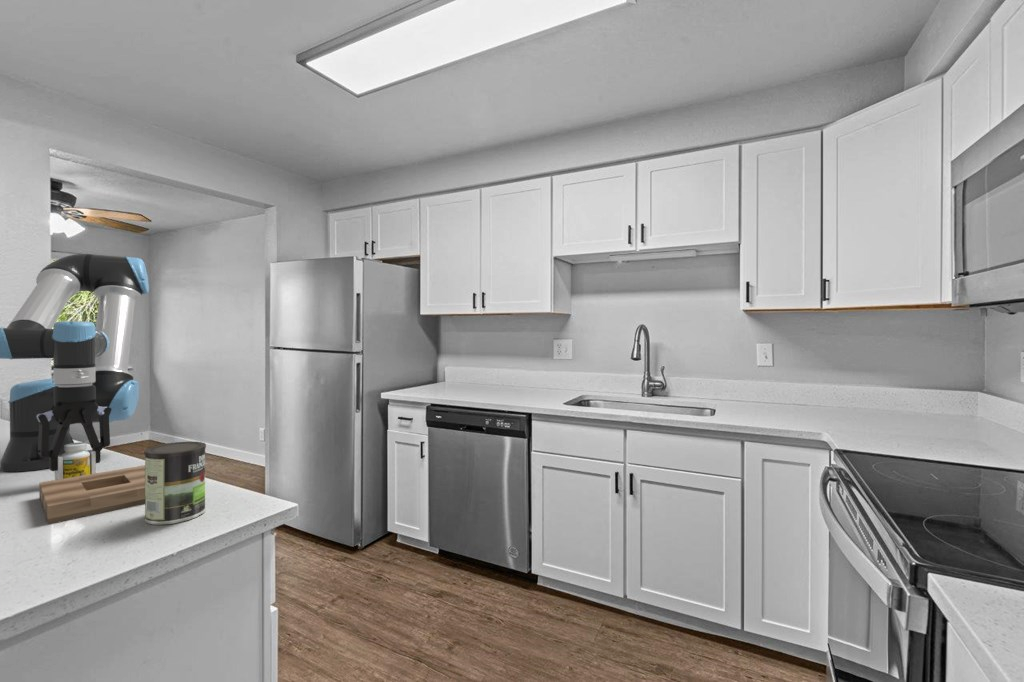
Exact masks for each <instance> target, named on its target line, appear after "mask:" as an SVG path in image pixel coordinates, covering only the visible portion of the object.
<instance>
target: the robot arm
mask: <svg viewBox="0 0 1024 682" xmlns="http://www.w3.org/2000/svg"><path fill="white" fill-rule="evenodd" d="M35 279H36V286H35V287H34V289H33V290H32V292H31V293H30V295H28V297H27V299H26V300H25V301H24V303H23V304H22V306H21V307H20V309H19V310H18V311H17V313H16V314H15V316H14V317H13V318H12V320H11V322H10V323H9V324H8V326H6V327H1V326H0V359H2V360H3V359H6V360H7V359H8V360H23V359H24V360H25V359H26V360H27V359H28V360H29V359H30V360H31V359H53V362H52V363H53V378H45V379H38V380H32V381H26V382H20V383H16V384H14V385H13V386H12V387H11V388H10V392H9V401H8V404H9V441H8V443H7V446H6V448H5V449H4V453H3V455H2V458H1V459H0V470H1V471H4V472H29V471H30V472H31V471H38V470H44V469H49V471H51V472H54V480H58V479H63V457H62V456H61V455H62V454H64V453H66V452H65V451H64V445H66V444H70V443H75V442H74V439H73V437H72V434H71V431H70V429H71V428H70V427H71V426H70V425H75V424H81V425H82V427H83V430H84V433H85V435H86V437H87V440H88V443H89V445H90V448H91V449H89V450H87V451H88V452H89V453H90V474H95V473H96V472H97V469H96V468H97V467H96V466H97V464H99V463H100V462H101V451H102V450H103V449H104V448H106V447H110V445H111V438H110V437H111V436H110V434H111V433H110V431H111V430H110V423H113V422H117V421H119V422H120V421H126V420H129V419H130V418H131V417H132V416H134V414H135V411H136V409H137V405H138V402H139V398H140V384H139V382H138V381H137V380H134V375H133V374H132V373H130V372H129V370H128V368H129V360H130V353H131V352H130V351H131V342H132V333H133V323H134V315H135V314H134V313H135V304H137V303H138V302H140V301H141V299H142V295H147V294H149V291H150V287H149V286H150V285H149V277H148V273H147V269H146V264H145V262H144V261H143V259H141V258H140V257H130V256H127V255H125V256H119V255H117V256H116V255H106V254H105V255H104V254H93V253H92V254H89V253H76V254H71V255H67V256H63V257H61V258H59V259H56V260H54V261H52V262H50V263H49V264H47V265H46V266H44V268H42V269H41V270H40V271H39V273H38V274H37V276H36V278H35ZM79 292H90V293H92V292H93V295H94V297H96V298H97V299H98V305H97V306H98V308H97V314H96V321H95V323H94V322H92V321H64V320H63V321H57V320H58V318H59V317H60V315H61V313H62V312H63V310H64V308H65V306H66V305H67V303H68V301H69V300H70V299H71V297H74V296H76V294H78V293H79ZM95 423H99V424H98V425H99V438H98V435H97V433H96V430H95V428H94V424H95Z"/></svg>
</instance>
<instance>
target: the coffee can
mask: <svg viewBox="0 0 1024 682" xmlns="http://www.w3.org/2000/svg"><path fill="white" fill-rule="evenodd" d="M206 447H207V445H206V443H205V442H202V441H175V442H169V443H168V442H167V443H163V444H158V445H157V444H156V445H154V446H150V447H148V448H146V449H144V451H143V455H144V461H145V462H144V465H145V504H144V505H145V507H144V508H145V509H144V511H145V516H144V517H145V518H144V521H145V523H147V524H149V525H153V526H162V525H172V524H178V523H183V522H186V521H190V520H193V519H195V518H198V517H200V516H202V515H203V514H204V513H206V510H207V509H206ZM201 514H202V515H201ZM199 515H200V516H199Z"/></svg>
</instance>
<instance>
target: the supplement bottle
mask: <svg viewBox="0 0 1024 682" xmlns="http://www.w3.org/2000/svg"><path fill="white" fill-rule="evenodd" d="M64 451H65V452H66V453H64V454H62V455H61V456H62V457H63V479H65V478H71V477H77V476H83V475H89V474H90V453H89V452H88V450H87V443H86V442H80V441H79V442H74V443H70V444H66V445H64Z"/></svg>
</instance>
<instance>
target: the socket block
mask: <svg viewBox="0 0 1024 682" xmlns="http://www.w3.org/2000/svg"><path fill="white" fill-rule="evenodd" d="M38 486H39V494H38V495H39V500H40V504H41V507H42V510H43V513H45V514H44V517H45V516H46V517H45V519H46V522H47V524H48V525H51V524H57V523H60V522H59V521H61V522H64V521H65V520H66V521H69V519H70V520H73V518H75V519H79V518H78V517H80V518H83V517H82V516H84V517H88V516H87V515H89V516H93V514H94V515H97V514H103V513H107V511H108V512H112V511H116V510H121V509H126V508H131V507H136V506H139V505H145V464H144V465H139V466H131V467H126V468H121V469H114V470H107V471H101V472H97V473H95V474H89V475H83V476H77V477H71V478H65V479H58V480H55V479H53V480H47V481H46V480H45V481H43V482H39V484H38Z"/></svg>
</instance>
